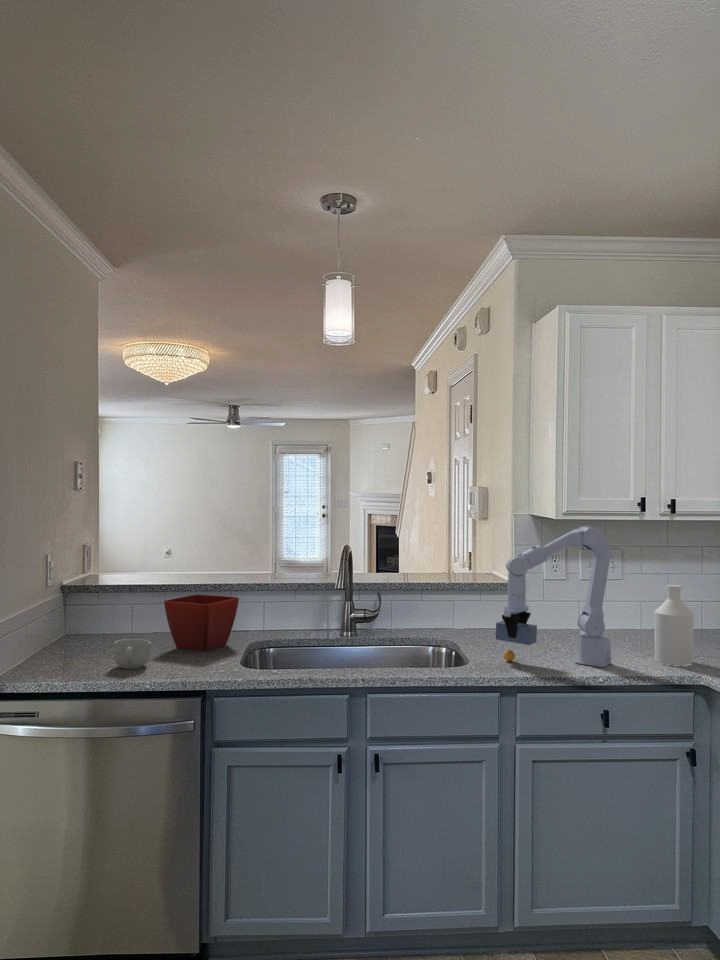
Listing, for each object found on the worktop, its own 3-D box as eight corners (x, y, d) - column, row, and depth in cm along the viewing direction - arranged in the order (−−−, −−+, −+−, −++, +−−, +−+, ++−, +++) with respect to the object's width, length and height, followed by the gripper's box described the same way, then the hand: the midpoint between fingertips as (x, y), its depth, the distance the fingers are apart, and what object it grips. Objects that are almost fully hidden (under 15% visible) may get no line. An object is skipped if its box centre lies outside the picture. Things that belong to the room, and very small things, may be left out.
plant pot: (196, 639, 276) (196, 593, 276) (239, 644, 268) (240, 597, 268) (162, 649, 258) (162, 600, 258) (207, 655, 250) (207, 604, 250)
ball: (505, 649, 247) (506, 660, 246) (501, 651, 244) (502, 662, 243) (516, 649, 245) (517, 660, 244) (512, 651, 242) (513, 662, 241)
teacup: (121, 662, 239) (121, 637, 239) (155, 663, 239) (155, 637, 239) (105, 673, 225) (105, 646, 225) (140, 674, 225) (141, 647, 225)
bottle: (694, 668, 237) (695, 588, 237) (654, 664, 241) (654, 586, 241) (692, 659, 248) (692, 584, 248) (653, 656, 252) (654, 582, 252)
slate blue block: (536, 642, 242) (537, 625, 242) (529, 645, 237) (529, 628, 237) (503, 636, 248) (503, 620, 248) (495, 639, 244) (496, 622, 244)
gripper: (514, 590, 251) (514, 631, 251) (495, 595, 239) (494, 637, 239) (534, 592, 247) (534, 633, 247) (515, 597, 235) (515, 640, 235)
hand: (516, 636), depth 243 cm, fingers closed on slate blue block, 6 cm apart
